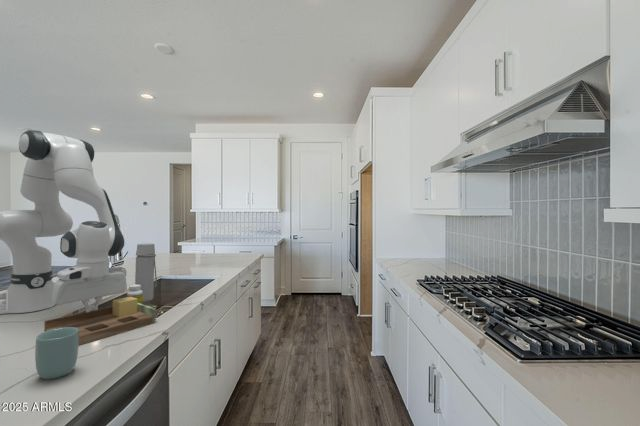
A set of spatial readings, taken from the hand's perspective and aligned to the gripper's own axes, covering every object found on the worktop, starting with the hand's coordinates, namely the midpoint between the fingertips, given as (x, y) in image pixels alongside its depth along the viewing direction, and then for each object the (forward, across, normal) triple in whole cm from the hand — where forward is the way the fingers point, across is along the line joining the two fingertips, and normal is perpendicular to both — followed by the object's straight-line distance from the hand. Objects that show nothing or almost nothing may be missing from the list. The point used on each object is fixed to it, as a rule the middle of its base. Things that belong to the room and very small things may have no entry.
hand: (91, 311), depth 100 cm
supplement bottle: (+6, -18, -9) cm, 21 cm away
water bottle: (+6, -28, -19) cm, 34 cm away
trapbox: (+6, -2, +4) cm, 7 cm away
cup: (+6, +17, +26) cm, 32 cm away
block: (+3, -10, +1) cm, 11 cm away
